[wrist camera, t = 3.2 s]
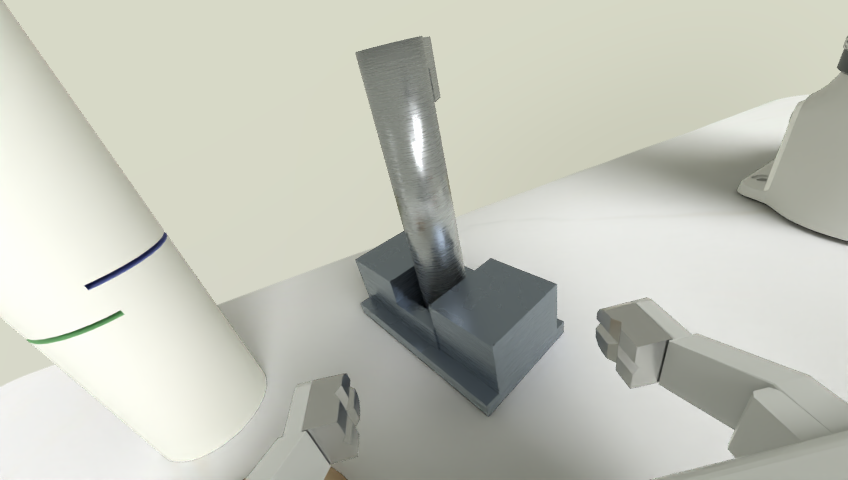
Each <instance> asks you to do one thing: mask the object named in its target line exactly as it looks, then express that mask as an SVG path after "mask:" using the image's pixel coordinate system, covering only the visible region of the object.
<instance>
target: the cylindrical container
mask: <svg viewBox="0 0 848 480" xmlns="http://www.w3.org/2000/svg"><path fill="white" fill-rule="evenodd" d="M0 318H1V319H3V320H4V321H5V322H6V323H7V324H8V325H10V326H11V327H12V328H13V329H14V330H16V331H17V332H18V333H19V334H20V335H21V336H23V337H24V338H25V339H27V341H28V342H30V343H31V344H32V345H33V346H34V347H35V348H37V349H38V350H39V351H40V352H41V353H42V354H44V355H45V356H46V357H47V358H48V359H50V360H51V361H52V362H53V363H54V364H55V365H57V366H58V367H59V368H60V369H61V370H62V371H64V372H65V373H66V374H67V375H68V376H69V377H71V378H72V379H73V380H74V381H75V382H77V383H78V384H79V385H80V386H81V387H82V388H84V389H85V390H86V391H87V392H88V393H89V394H91V395H92V396H93V397H94V398H95V399H97V400H98V401H99V402H100V403H101V404H102V405H104V406H105V407H106V408H107V409H108V410H109V411H111V412H112V413H113V414H114V415H115V416H117V417H118V418H119V419H120V420H121V421H122V422H124V423H125V424H126V425H127V426H128V427H129V428H131V429H132V430H133V431H134V432H135V433H136V434H138V435H139V436H140V437H141V438H142V439H144V440H145V441H146V442H147V443H148V444H149V445H151V446H152V447H153V448H154V449H155V450H156V451H158V452H159V453H160V454H161V455H162V456H164V457H165V458H166V459H167V460H170V461H173V462H187V461H191V460H195V459H198V458H201V457H203V456H205V455H207V454H210V453H211V452H213V451H215V450H216V449H218V448H220V447H221V446H223V445H224V444H225V443H227V442H228V441H229V440H231V439H232V438H233V437H234V436H235V435H236V434H238V433H239V432H240V431H241V430H242V429H243V428H244V427H245V425H246V424H247V423H248V422H249V421H250V420H251V418H252V417H253V416H254V414H255V413H256V411H257V410H258V408H259V406H260V404H261V402H262V400H263V398H264V395H265V392H266V385H267V381H266V376H265V374H264V372H263V370H262V369H261V368H260V366H259V365H258V363H257V362H256V361H255V359H254V358H253V356H252V355H251V353H250V352H249V351H248V349H247V348H246V346H245V345H244V343H243V342H242V341H241V339H240V338H239V336H238V335H237V333H236V332H235V331H234V329H233V328H232V326H231V325H230V323H229V322H228V321H227V319H226V318H225V316H224V315H223V313H222V312H221V311H220V309H219V308H218V306H217V305H216V304H215V302H214V301H213V299H212V298H211V296H210V295H209V294H208V292H207V291H206V289H205V288H204V286H203V285H202V284H201V282H200V281H199V279H198V278H197V276H196V275H195V274H194V272H193V271H192V269H191V268H190V266H189V265H188V264H187V262H186V261H185V259H184V258H183V257H182V255H181V254H180V252H179V251H178V250H177V248H176V247H175V245H174V244H173V242H172V241H171V239H170V238H169V237H168V235H167V234H166V233H165V232H164V230H163V228H162V227H161V225H160V224H159V222H158V221H157V220H156V218H155V217H154V215H153V214H152V212H151V211H150V210H149V208H148V207H147V205H146V204H145V202H144V201H143V200H142V198H141V197H140V195H139V194H138V192H137V191H136V190H135V188H134V187H133V185H132V184H131V182H130V181H129V180H128V178H127V177H126V175H125V174H124V173H123V171H122V170H121V168H120V167H119V165H118V164H117V163H116V161H115V160H114V158H113V157H112V155H111V154H110V152H109V151H108V150H107V148H106V147H105V145H104V144H103V143H102V141H101V140H100V138H99V137H98V135H97V134H96V133H95V131H94V130H93V128H92V127H91V125H90V124H89V123H88V121H87V120H86V118H85V117H84V115H83V114H82V113H81V111H80V110H79V108H78V107H77V105H76V104H75V103H74V101H73V100H72V98H71V97H70V96H69V94H68V93H67V91H66V90H65V88H64V87H63V86H62V84H61V83H60V81H59V80H58V78H57V77H56V76H55V74H54V73H53V71H52V70H51V69H50V67H49V66H48V64H47V63H46V61H45V60H44V59H43V57H42V56H41V54H40V53H39V51H38V50H37V49H36V47H35V46H34V44H33V43H32V41H31V40H30V39H29V37H28V36H27V34H26V33H25V31H24V30H23V29H22V27H21V26H20V24H19V23H18V22H17V20H16V19H15V17H14V16H13V14H12V13H11V12H10V10H9V9H8V7H7V6H6V4H5V3H4V2H3V0H0Z"/></svg>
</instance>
